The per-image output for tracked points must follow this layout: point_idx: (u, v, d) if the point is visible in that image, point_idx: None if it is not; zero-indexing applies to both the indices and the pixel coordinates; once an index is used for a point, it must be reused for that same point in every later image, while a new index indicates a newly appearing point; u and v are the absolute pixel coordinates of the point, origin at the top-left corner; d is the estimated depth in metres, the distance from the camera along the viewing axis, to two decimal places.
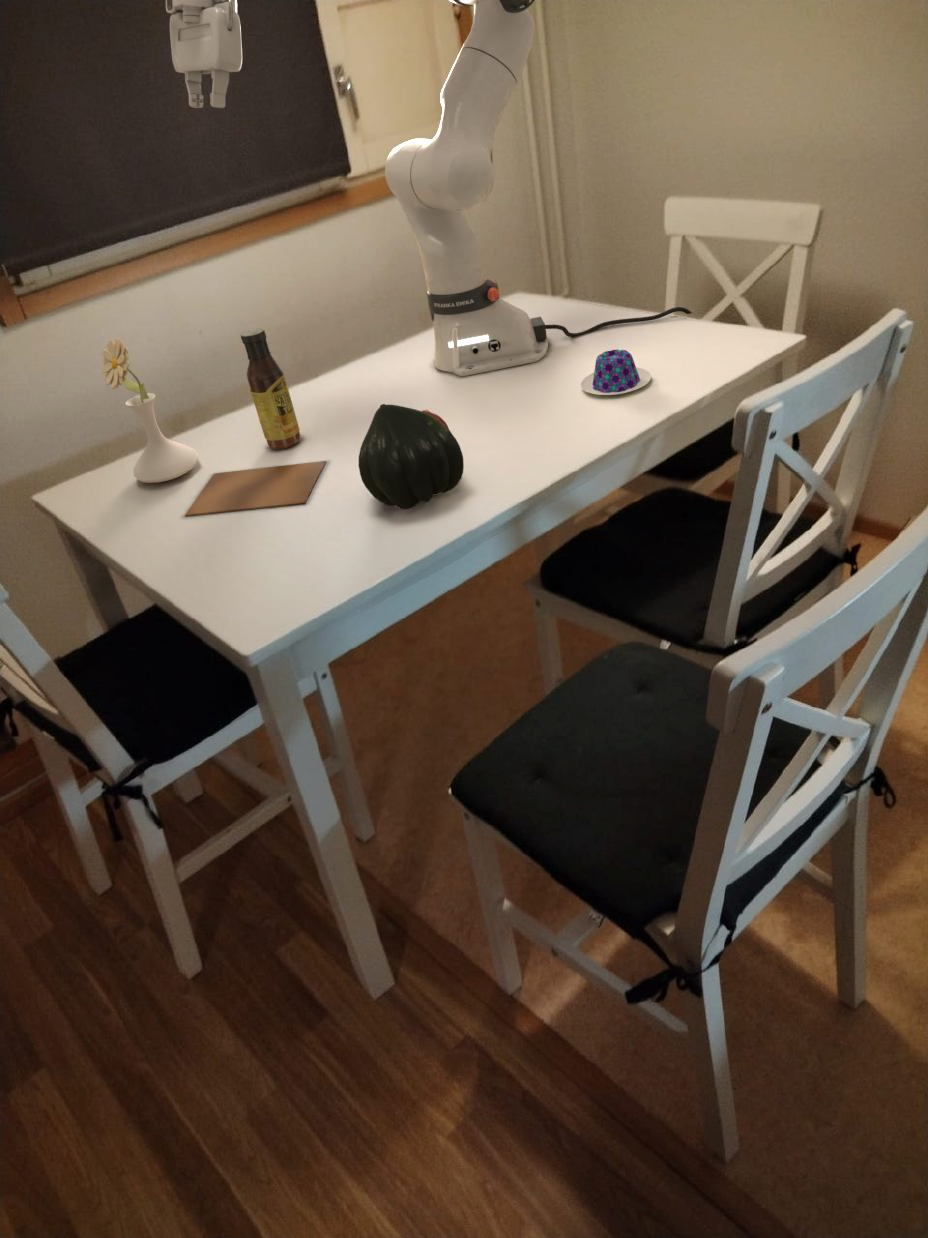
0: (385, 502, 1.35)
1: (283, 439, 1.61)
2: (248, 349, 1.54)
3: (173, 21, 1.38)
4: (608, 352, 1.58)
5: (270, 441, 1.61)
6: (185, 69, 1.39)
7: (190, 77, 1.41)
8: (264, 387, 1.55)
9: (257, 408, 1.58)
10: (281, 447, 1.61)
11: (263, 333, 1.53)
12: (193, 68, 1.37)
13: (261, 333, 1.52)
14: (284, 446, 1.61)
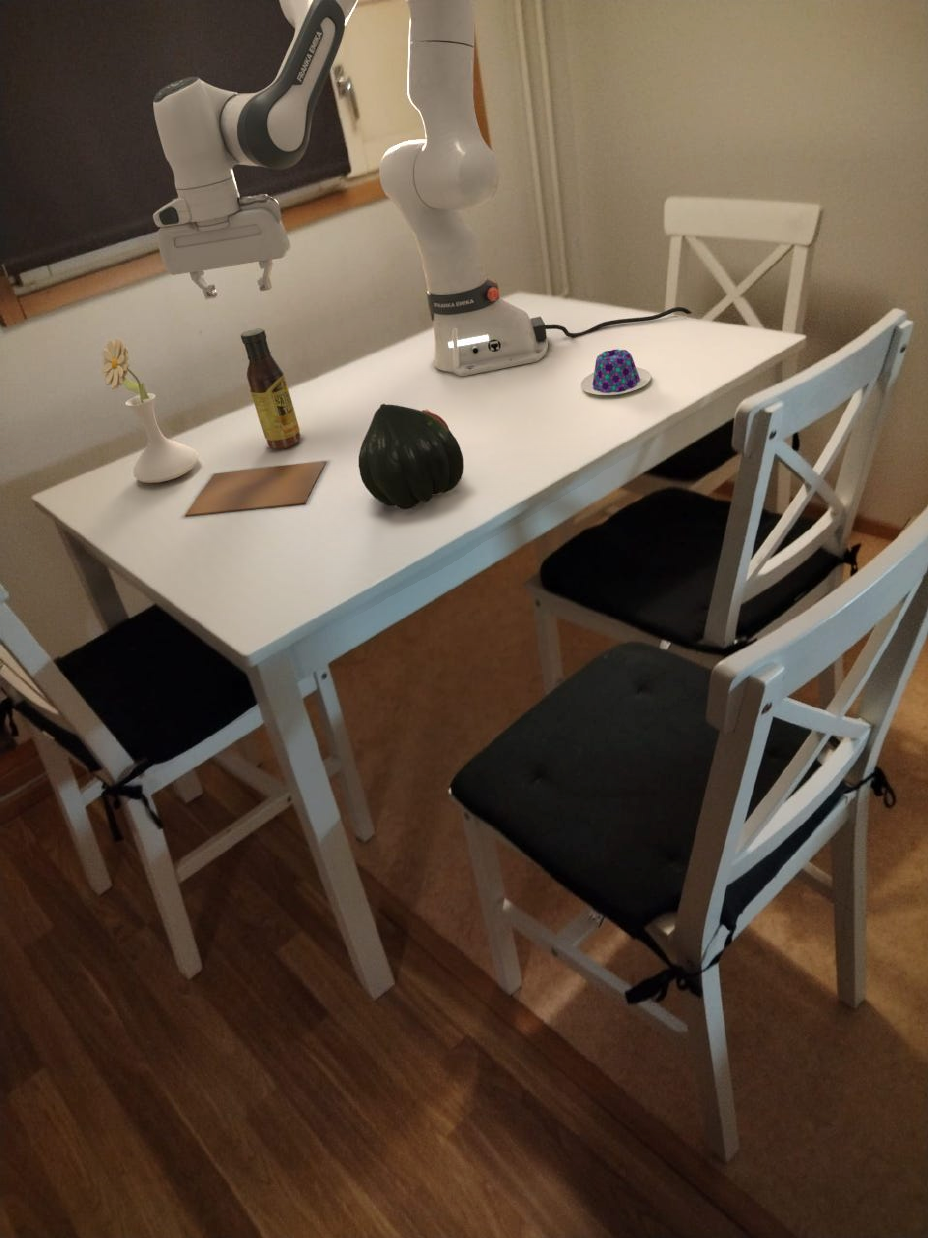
0: (385, 502, 1.35)
1: (283, 439, 1.61)
2: (248, 349, 1.54)
3: (170, 232, 1.42)
4: (608, 352, 1.58)
5: (270, 441, 1.61)
6: (200, 270, 1.46)
7: (199, 274, 1.47)
8: (264, 387, 1.55)
9: (257, 408, 1.58)
10: (281, 447, 1.61)
11: (263, 333, 1.53)
12: (222, 266, 1.45)
13: (261, 333, 1.52)
14: (284, 446, 1.61)
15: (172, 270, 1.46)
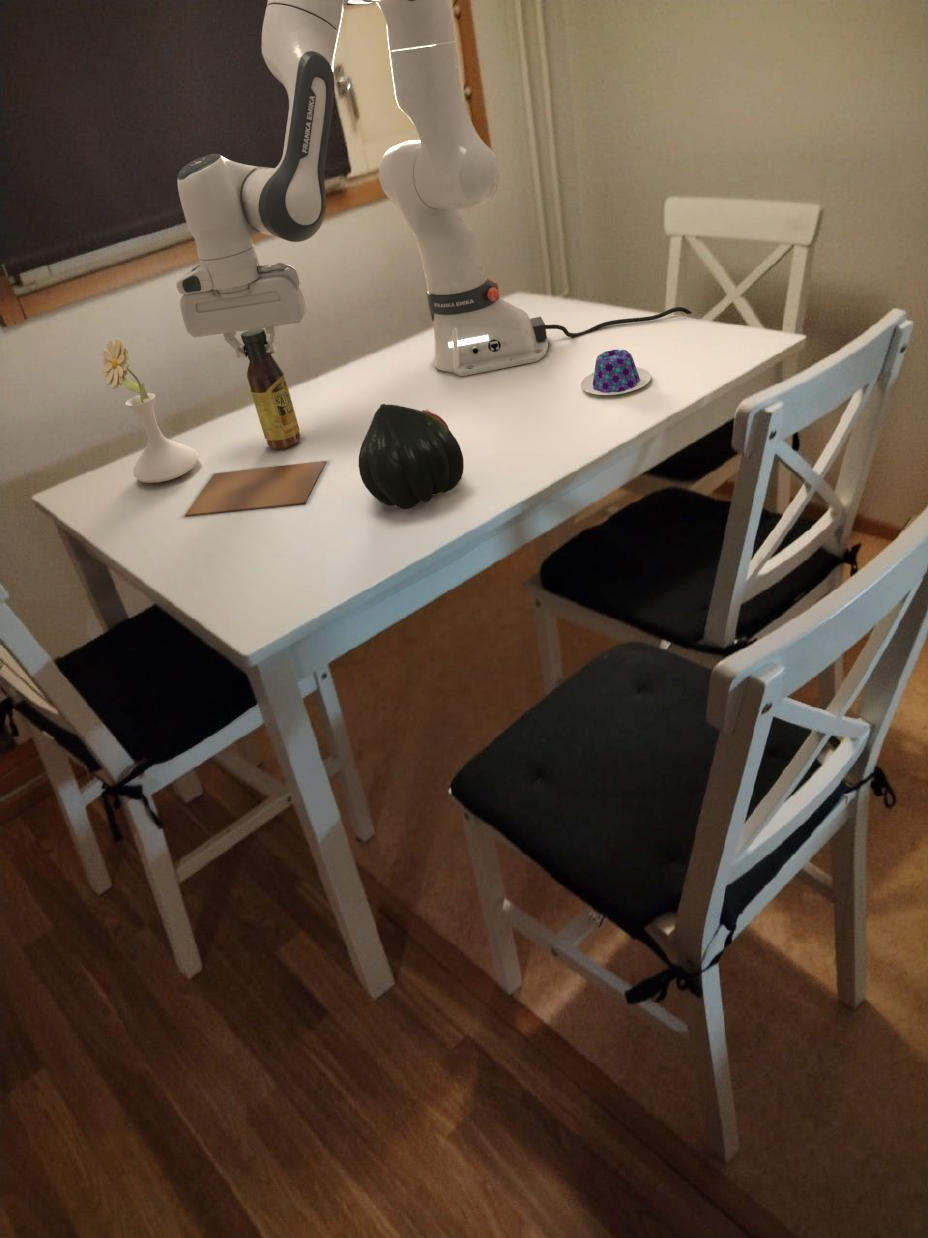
0: (385, 502, 1.35)
1: (283, 439, 1.61)
2: (248, 349, 1.54)
3: (193, 299, 1.48)
4: (608, 352, 1.58)
5: (270, 441, 1.61)
6: (221, 333, 1.52)
7: (232, 335, 1.53)
8: (264, 387, 1.55)
9: (257, 408, 1.58)
10: (281, 447, 1.61)
11: (263, 333, 1.53)
12: (242, 330, 1.51)
13: (261, 333, 1.52)
14: (284, 446, 1.61)
15: (194, 333, 1.52)
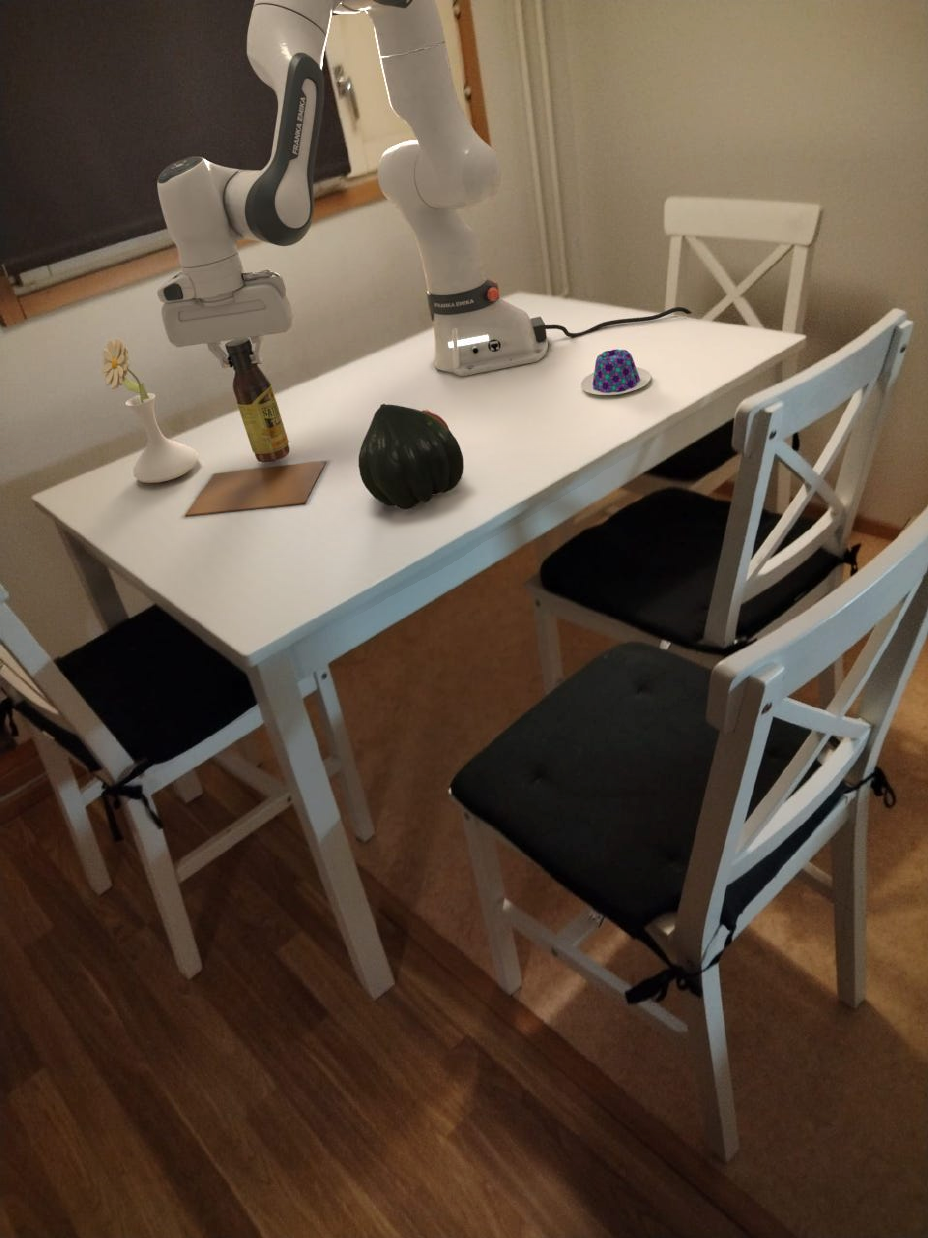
0: (385, 502, 1.35)
1: (272, 452, 1.54)
2: (233, 360, 1.47)
3: (174, 307, 1.42)
4: (608, 352, 1.58)
5: (258, 454, 1.55)
6: (204, 343, 1.46)
7: (217, 345, 1.47)
8: (251, 399, 1.49)
9: (244, 420, 1.52)
10: (269, 461, 1.55)
11: (248, 343, 1.47)
12: (226, 339, 1.45)
13: (246, 343, 1.46)
14: (273, 459, 1.55)
15: (176, 343, 1.46)
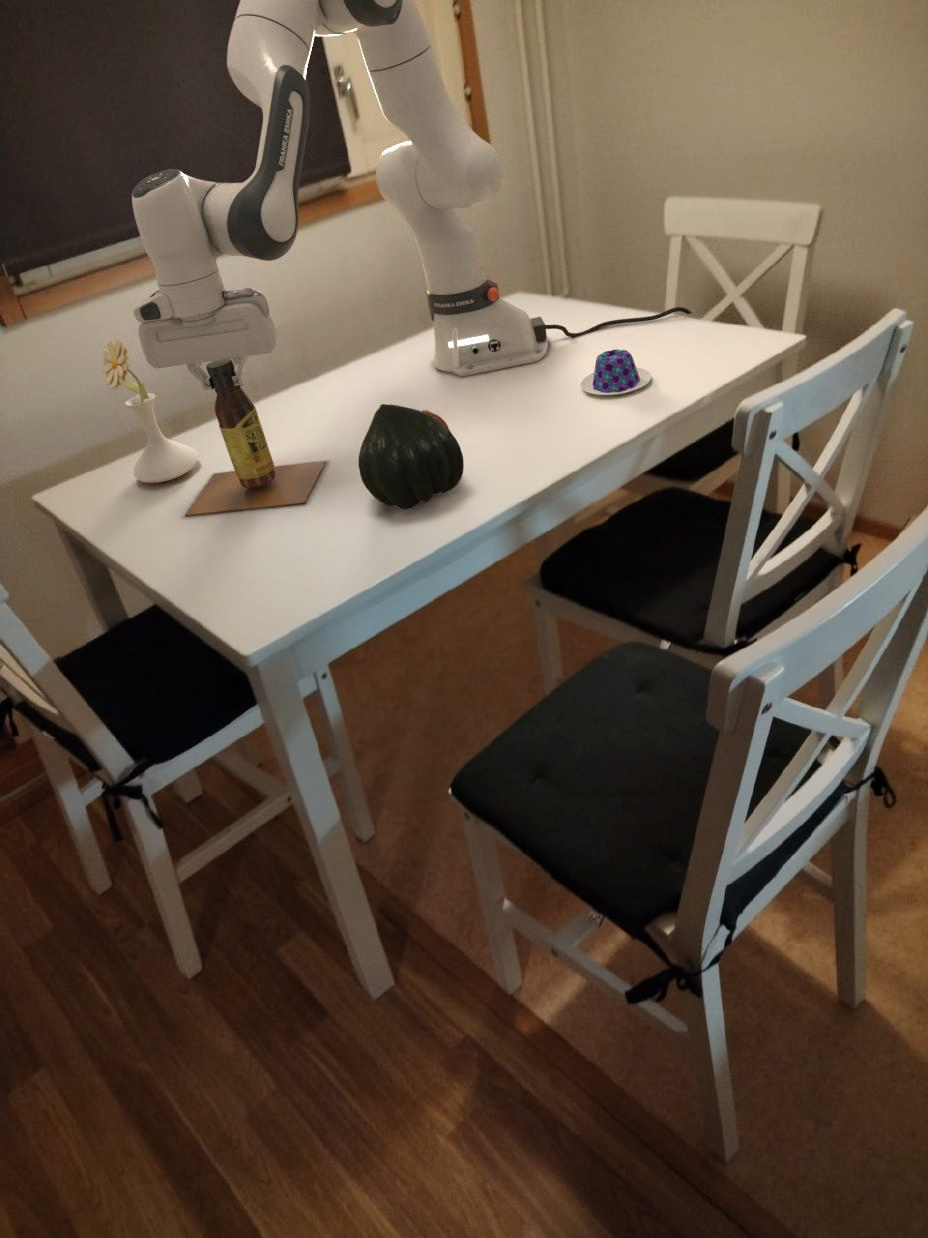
0: (385, 502, 1.35)
1: (256, 478, 1.47)
2: (214, 382, 1.40)
3: (152, 327, 1.35)
4: (608, 352, 1.58)
5: (242, 480, 1.48)
6: (184, 364, 1.39)
7: (197, 366, 1.40)
8: (233, 422, 1.42)
9: (227, 444, 1.45)
10: (254, 486, 1.48)
11: (230, 364, 1.40)
12: (207, 361, 1.38)
13: (228, 364, 1.39)
14: (257, 485, 1.48)
15: (155, 364, 1.39)
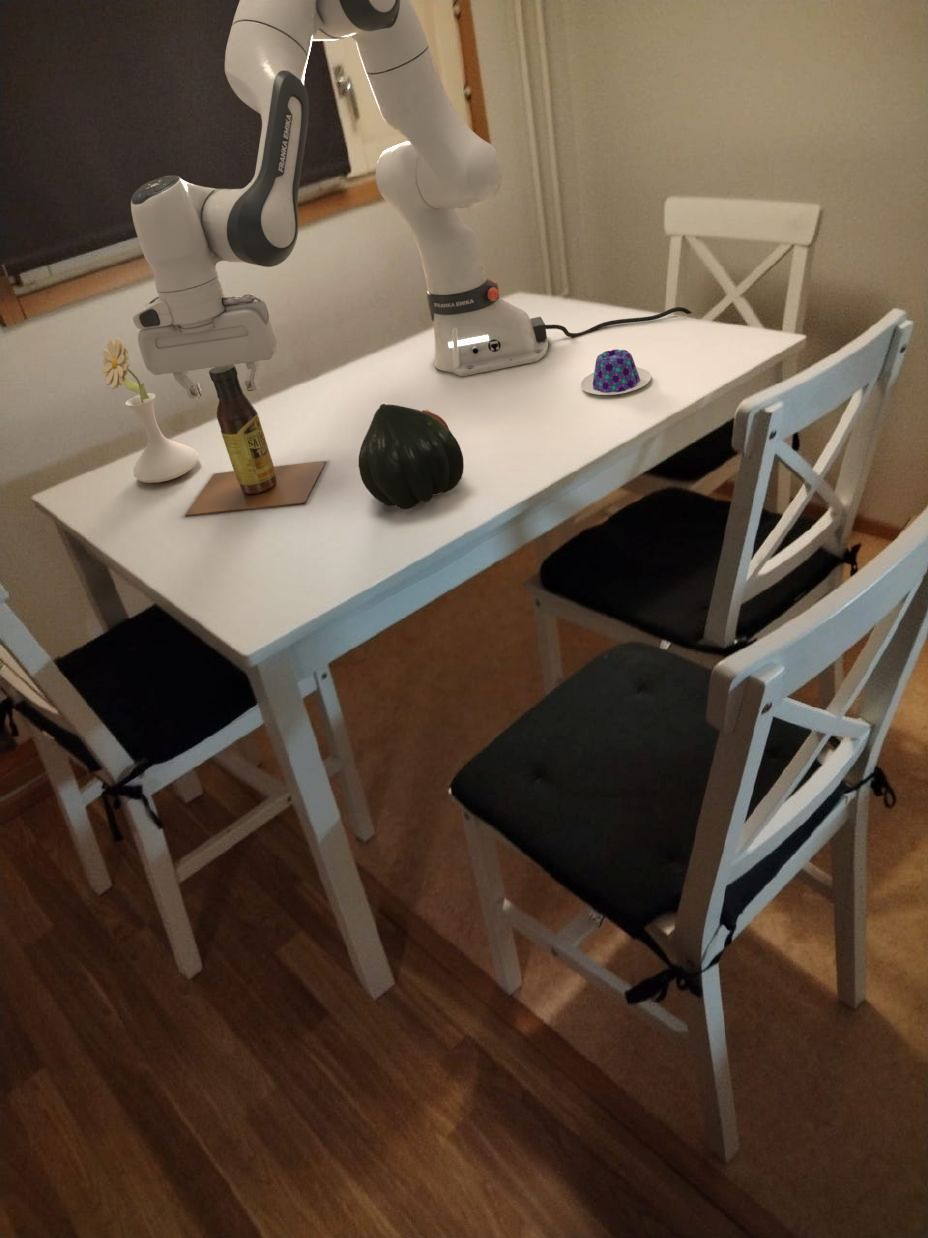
0: (385, 502, 1.35)
1: (257, 484, 1.47)
2: (217, 387, 1.40)
3: (151, 334, 1.34)
4: (608, 352, 1.58)
5: (243, 486, 1.48)
6: (183, 370, 1.38)
7: (183, 374, 1.39)
8: (235, 428, 1.42)
9: (229, 450, 1.45)
10: (255, 492, 1.48)
11: (234, 370, 1.39)
12: (206, 367, 1.37)
13: (231, 370, 1.39)
14: (258, 491, 1.48)
15: (154, 371, 1.38)
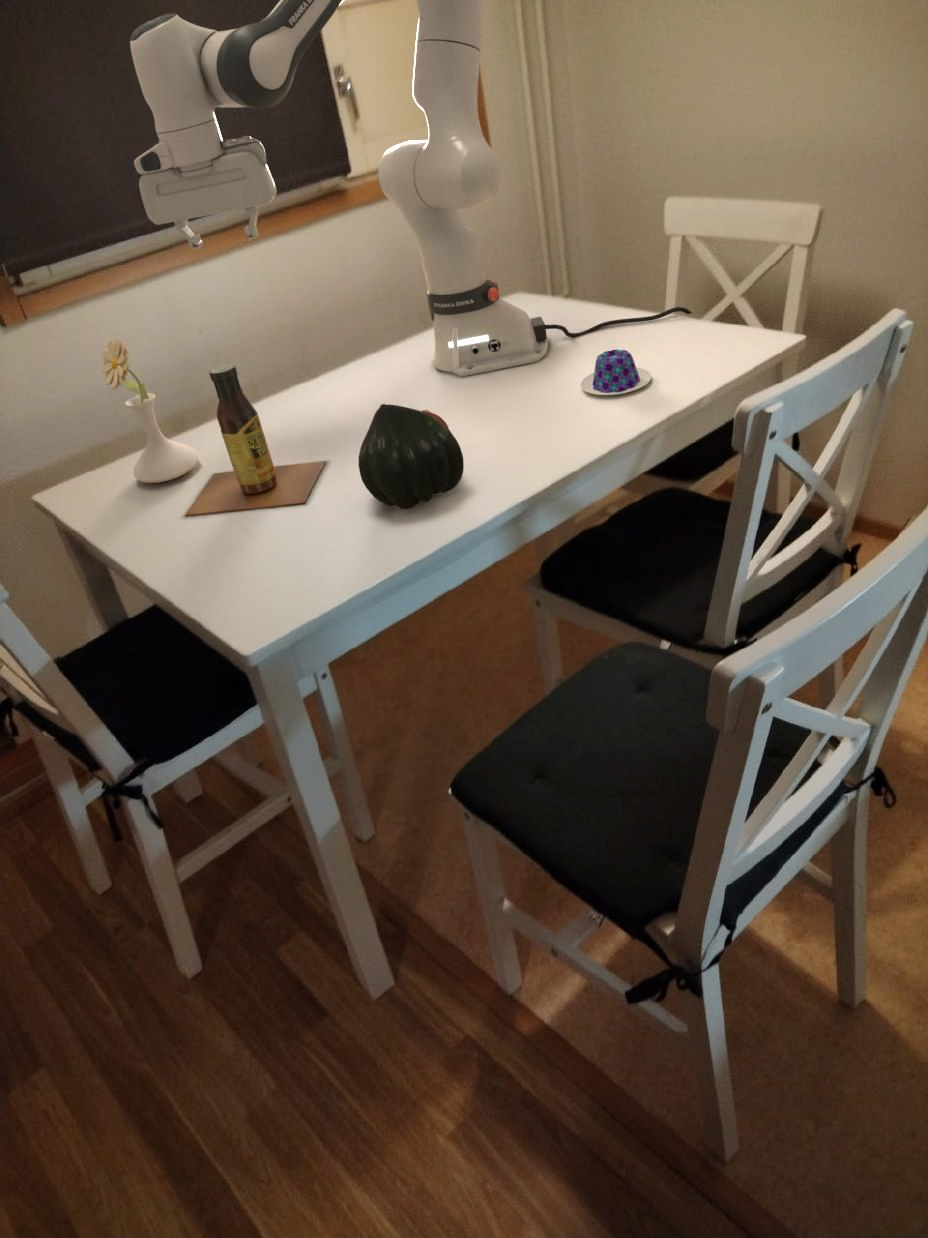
0: (385, 502, 1.35)
1: (257, 484, 1.47)
2: (217, 387, 1.40)
3: (152, 180, 1.38)
4: (608, 352, 1.58)
5: (243, 486, 1.48)
6: (184, 218, 1.42)
7: (184, 223, 1.43)
8: (235, 428, 1.42)
9: (229, 450, 1.45)
10: (255, 492, 1.48)
11: (234, 370, 1.39)
12: (207, 214, 1.41)
13: (231, 370, 1.39)
14: (258, 491, 1.48)
15: (156, 220, 1.42)
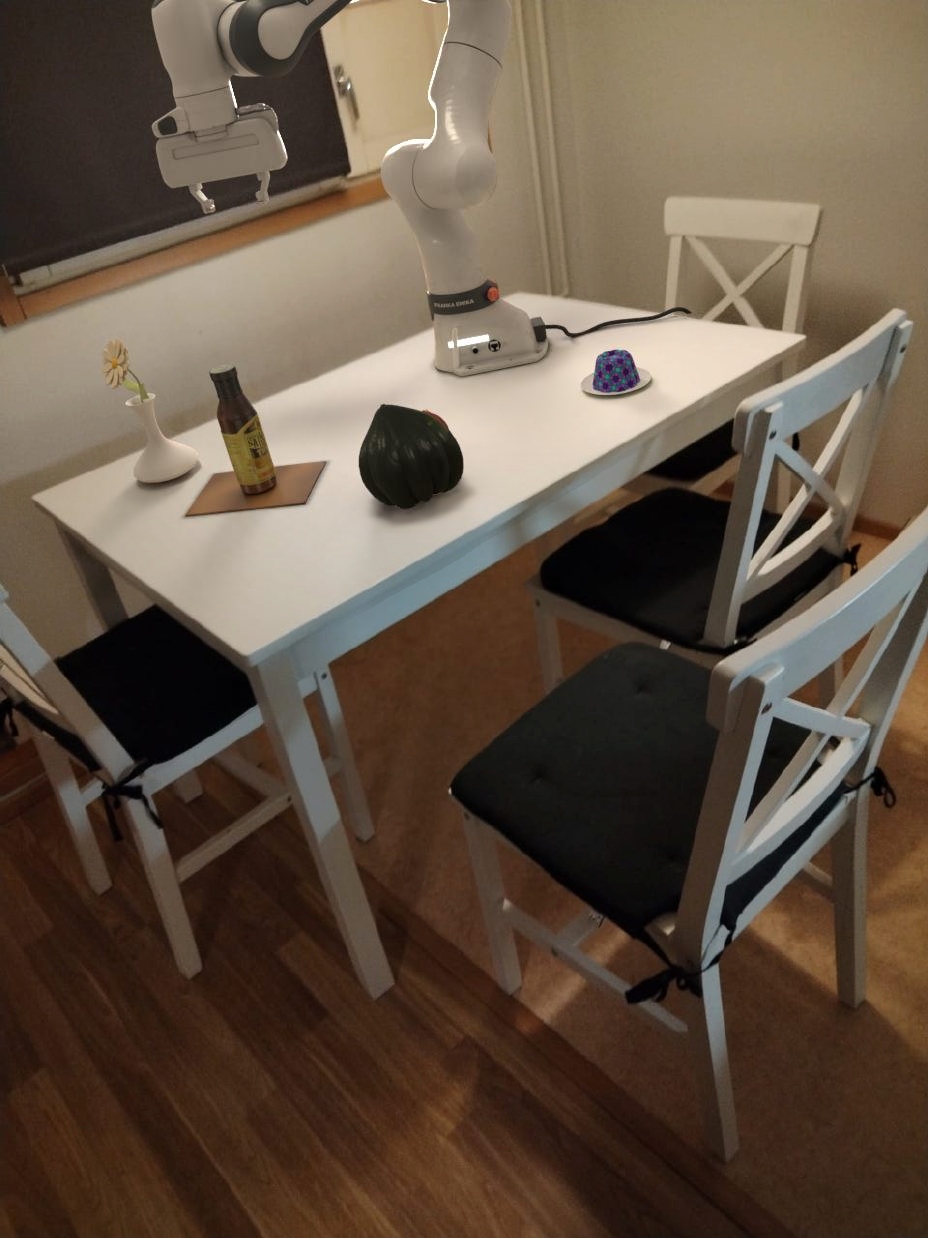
0: (385, 502, 1.35)
1: (257, 484, 1.47)
2: (217, 387, 1.40)
3: (169, 143, 1.44)
4: (608, 352, 1.58)
5: (243, 486, 1.48)
6: (198, 182, 1.48)
7: (198, 187, 1.49)
8: (235, 428, 1.42)
9: (229, 450, 1.45)
10: (255, 492, 1.48)
11: (234, 370, 1.39)
12: (220, 178, 1.47)
13: (231, 370, 1.39)
14: (258, 491, 1.48)
15: (171, 183, 1.48)
